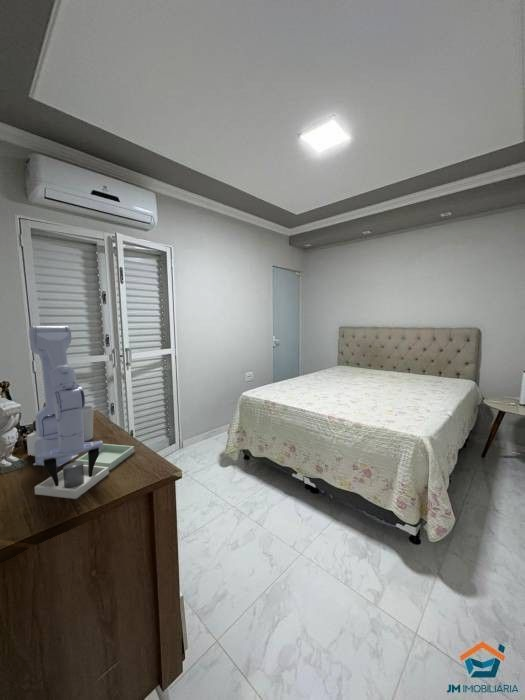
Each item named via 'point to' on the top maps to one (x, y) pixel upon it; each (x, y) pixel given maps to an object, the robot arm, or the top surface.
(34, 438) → the medicine bottle
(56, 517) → the top surface
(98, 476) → the bin
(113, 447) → the bin
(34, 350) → the robot arm
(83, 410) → the cup
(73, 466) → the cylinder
